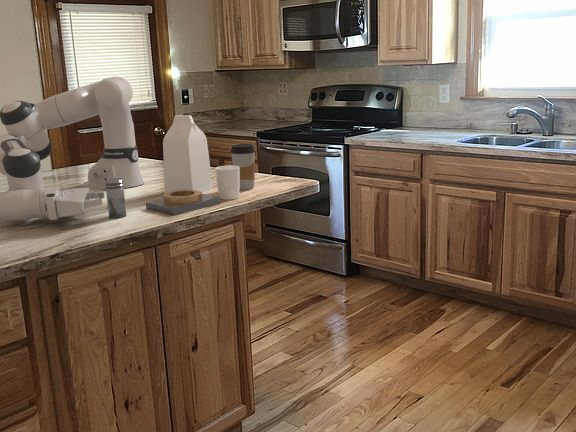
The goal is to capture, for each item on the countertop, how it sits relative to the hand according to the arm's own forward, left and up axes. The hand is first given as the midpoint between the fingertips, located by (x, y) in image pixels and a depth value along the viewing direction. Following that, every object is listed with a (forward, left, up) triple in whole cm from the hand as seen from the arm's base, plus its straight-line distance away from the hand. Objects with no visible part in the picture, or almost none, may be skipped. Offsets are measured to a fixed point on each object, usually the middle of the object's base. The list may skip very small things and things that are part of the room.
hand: (103, 198), depth 180 cm
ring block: (+17, +17, -6) cm, 25 cm away
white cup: (+27, +30, -6) cm, 41 cm away
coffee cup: (+27, +44, -6) cm, 52 cm away
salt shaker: (+3, +2, -6) cm, 7 cm away
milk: (+9, +37, -6) cm, 39 cm away
